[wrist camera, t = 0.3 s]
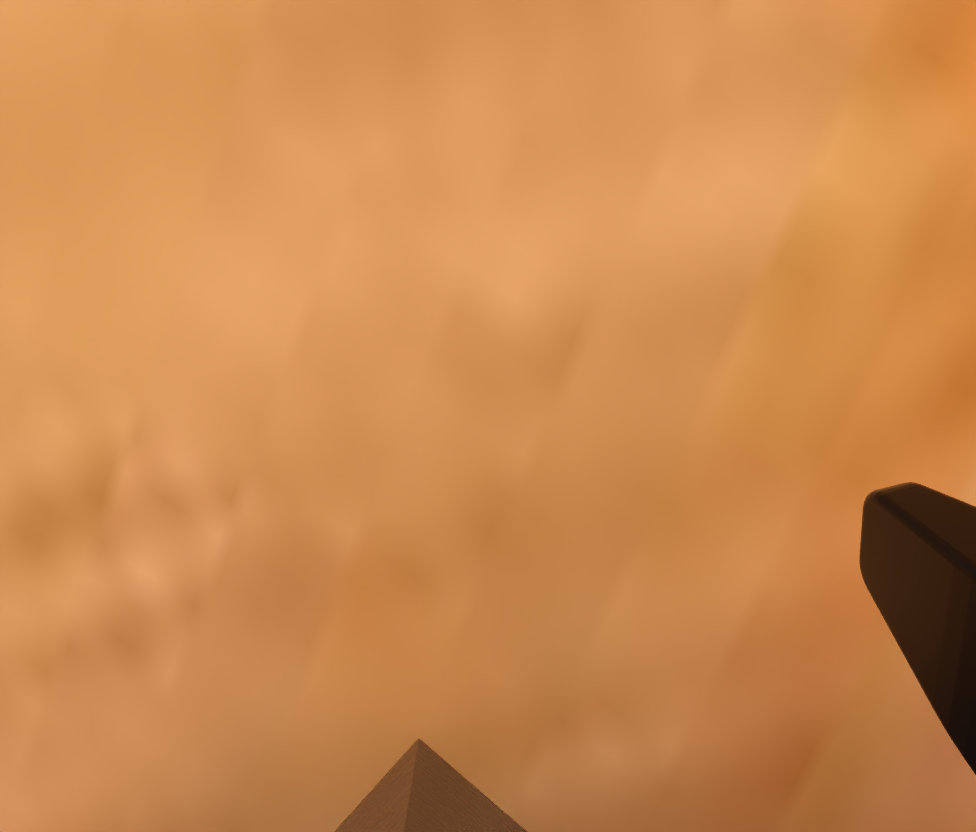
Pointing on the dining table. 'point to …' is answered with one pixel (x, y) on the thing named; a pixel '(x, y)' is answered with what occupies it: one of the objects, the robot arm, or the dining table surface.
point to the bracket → (426, 800)
